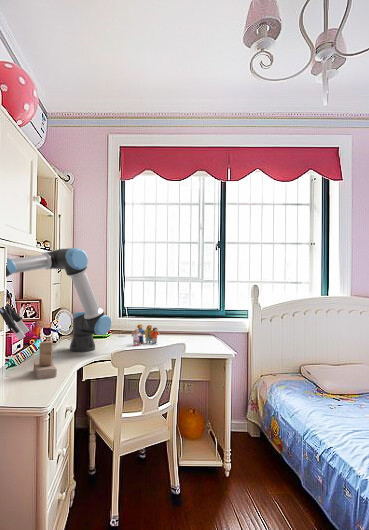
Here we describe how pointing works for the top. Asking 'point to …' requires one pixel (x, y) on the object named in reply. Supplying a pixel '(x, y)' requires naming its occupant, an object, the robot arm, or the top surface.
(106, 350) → the top surface
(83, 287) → the robot arm
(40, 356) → the walnut block
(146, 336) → the doll family
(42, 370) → the brick
